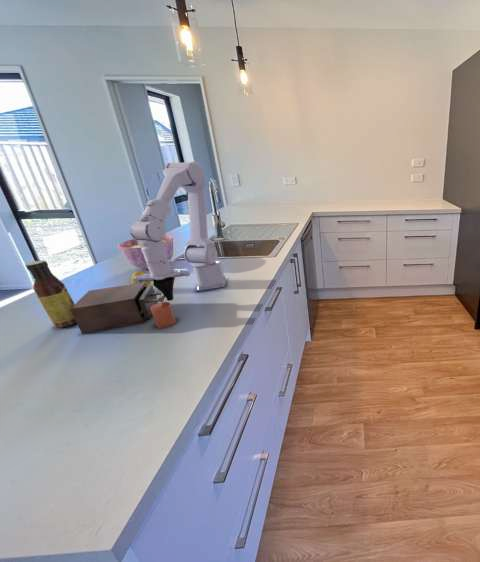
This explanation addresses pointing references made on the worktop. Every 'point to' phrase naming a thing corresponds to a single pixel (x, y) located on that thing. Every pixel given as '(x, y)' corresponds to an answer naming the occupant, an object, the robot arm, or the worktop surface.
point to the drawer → (148, 300)
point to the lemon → (138, 275)
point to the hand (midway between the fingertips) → (170, 299)
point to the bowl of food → (136, 255)
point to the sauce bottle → (52, 294)
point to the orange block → (163, 314)
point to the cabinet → (108, 308)
